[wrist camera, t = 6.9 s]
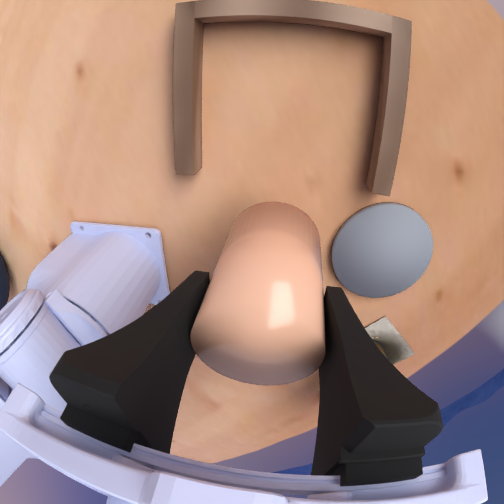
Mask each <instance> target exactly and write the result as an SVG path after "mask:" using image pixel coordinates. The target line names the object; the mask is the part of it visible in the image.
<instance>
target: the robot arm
mask: <svg viewBox="0 0 504 504" xmlns="http://www.w3.org/2000/svg"><path fill="white" fill-rule="evenodd" d="M70 227H71V231H72V234H70V235H69V236H68V237H67V238H66V239H65V240H64V241H63V242H61V243H60V244H59V245H58V246H57V247H56V248H55V249H54V250H53V251H52V252H51V253H49V254H48V255H47V256H46V257H45V258H44V259H43V260H42V261H41V262H40V263H39V264H38V265H37V266H36V267H35V268H34V270H33V271H32V273H31V275H30V277H29V280H28V283H27V287H26V289H25V290H23V291H22V292H20V293H19V294H18V295H16V296H15V297H14V298H13V299H12V300H11V301H9V302H8V303H7V304H6V305H5V306H4V307H3V308H2V309H1V310H0V486H1V485H2V484H3V483H4V482H5V481H6V480H7V479H8V478H9V476H11V474H12V473H13V472H14V471H15V470H16V469H17V468H18V467H19V466H20V465H21V464H22V463H23V462H24V461H25V459H26V458H39V459H40V460H42V461H43V462H45V463H47V464H48V465H50V466H51V467H53V468H55V469H56V470H58V471H60V472H61V473H63V474H65V475H67V476H69V477H70V478H72V479H74V480H76V481H78V482H80V483H81V484H83V485H85V486H87V487H89V488H91V489H93V490H96V491H98V492H100V493H102V494H104V495H107V496H109V497H108V500H107V502H106V504H481V503H483V502H485V501H487V499H488V498H487V488H486V480H485V473H484V467H483V460H482V455H481V450H480V449H477V450H474V451H470V452H466V453H462V454H460V455H457V456H455V457H453V458H451V459H449V460H448V461H447V462H446V463H443V464H438V465H434V466H428V467H422V460H421V457H422V456H424V454H425V450H424V446H425V445H426V444H427V443H429V442H430V441H431V440H432V439H434V438H435V437H436V436H437V435H438V434H439V433H440V432H441V430H442V428H443V423H442V418H441V412H440V409H439V406H438V403H437V402H435V401H434V400H433V399H431V398H430V397H428V396H427V395H426V394H425V393H423V392H422V391H420V390H419V389H418V388H417V387H415V386H414V385H413V384H412V383H411V382H410V381H409V380H408V379H407V378H406V377H404V376H403V375H402V374H401V373H400V372H399V371H398V370H397V369H396V367H395V366H394V365H393V364H392V363H391V362H390V361H389V360H388V359H387V358H386V357H385V355H384V354H383V353H382V352H381V351H380V349H379V348H378V347H377V345H376V344H375V343H374V341H373V340H372V338H371V337H370V335H369V334H368V333H367V331H366V330H365V328H364V326H363V325H362V323H361V322H360V320H359V318H358V317H357V315H356V313H355V312H354V310H353V308H352V306H351V304H350V303H349V301H348V299H347V297H346V295H345V293H344V291H343V290H342V288H340V287H330V286H327V287H326V291H325V295H324V317H325V357H324V360H323V362H322V364H321V365H320V366H319V379H320V403H319V417H318V428H317V437H316V445H315V453H314V460H313V465H312V472H311V475H291V474H278V473H267V472H258V471H250V470H243V469H237V468H230V467H224V466H219V465H214V464H209V463H204V462H200V461H195V460H191V459H187V458H183V457H179V456H175V455H171V454H170V448H171V442H172V437H173V431H174V427H175V422H176V417H177V413H178V409H179V405H180V401H181V397H182V393H183V389H184V385H185V382H186V378H187V375H188V372H189V369H190V367H191V364H192V362H193V359H194V357H195V354H196V353H195V351H194V349H193V347H192V344H191V337H190V335H191V330H192V327H193V325H194V322H195V319H196V317H197V314H198V312H199V309H200V306H201V304H202V301H203V299H204V296H205V293H206V291H207V288H208V286H209V283H210V278H209V272H201V271H195V272H193V273H192V274H191V275H190V276H189V277H188V278H187V279H186V280H184V281H183V282H182V283H181V284H180V285H179V286H178V287H177V288H176V289H175V290H173V291H172V292H171V293H170V290H169V284H168V278H167V271H166V265H165V258H164V251H163V244H162V236H161V232H160V231H159V230H158V229H155V228H145V227H134V226H124V225H113V224H101V223H90V222H78V221H73V222H72V223H71V225H70ZM83 228H84V229H83ZM148 233H150V234H151V236H149V235H148ZM160 300H161V301H160ZM149 304H154V305H155V306H154V307H153V308H152V309H150V310H149V311H148V312H146V313H145V314H144V312H145V311H146V309H147V307H148V305H149ZM143 314H144V315H143ZM150 468H151V469H150ZM153 469H154V470H158V471H153ZM277 493H279V494H277ZM281 494H295V495H309V496H307V499H304V498H293V497H284V496H283V495H281Z"/></svg>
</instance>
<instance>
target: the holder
mask: <svg viewBox="0 0 504 504" xmlns="http://www.w3.org/2000/svg"><path fill="white" fill-rule="evenodd" d="M239 21H260V22H285V23H298V24H309V25H318V26H326V27H333V28H339V29H345V30H351V31H356V32H361V33H366V34H371V35H375V36H379V37H383V53H382V68H381V80H380V91H379V100H378V109H377V117H376V125H375V132H374V139H373V146H372V152H371V158H370V164H369V170H368V176H367V181H366V185H367V186H368V188H369V189H370V191H371V193H372V194H379V195H385V196H390V193H391V188H392V184H393V179H394V174H395V169H396V164H397V159H398V153H399V148H400V142H401V136H402V129H403V122H404V115H405V108H406V99H407V90H408V80H409V69H410V54H411V27H412V21H409V20H406V19H403V18H399V17H396V16H392V15H388V14H384V13H380V12H376V11H372V10H368V9H363V8H358V7H353V6H347V5H342V4H335V3H328V2H321V1H312V0H199V1H190V2H183V3H176V9H175V28H174V58H173V116H174V148H175V169H176V175H194V174H195V173H196V172H197V171H199V170H200V169H201V168H202V54H203V28H204V23H214V22H239Z"/></svg>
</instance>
